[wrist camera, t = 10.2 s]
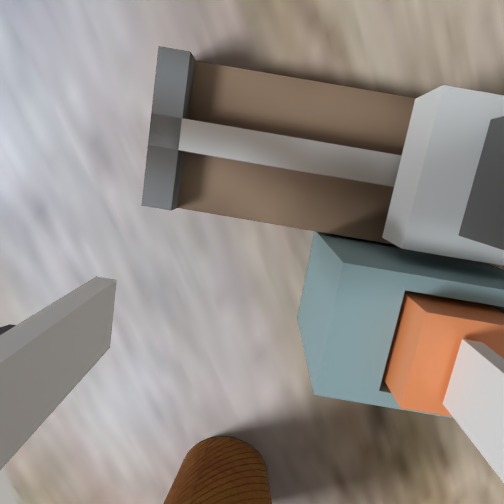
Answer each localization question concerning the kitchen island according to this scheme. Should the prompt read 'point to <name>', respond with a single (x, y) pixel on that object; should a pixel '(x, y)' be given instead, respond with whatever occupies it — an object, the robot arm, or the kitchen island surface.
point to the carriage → (451, 177)
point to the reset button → (435, 346)
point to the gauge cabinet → (373, 308)
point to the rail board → (301, 123)
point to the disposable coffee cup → (221, 475)
